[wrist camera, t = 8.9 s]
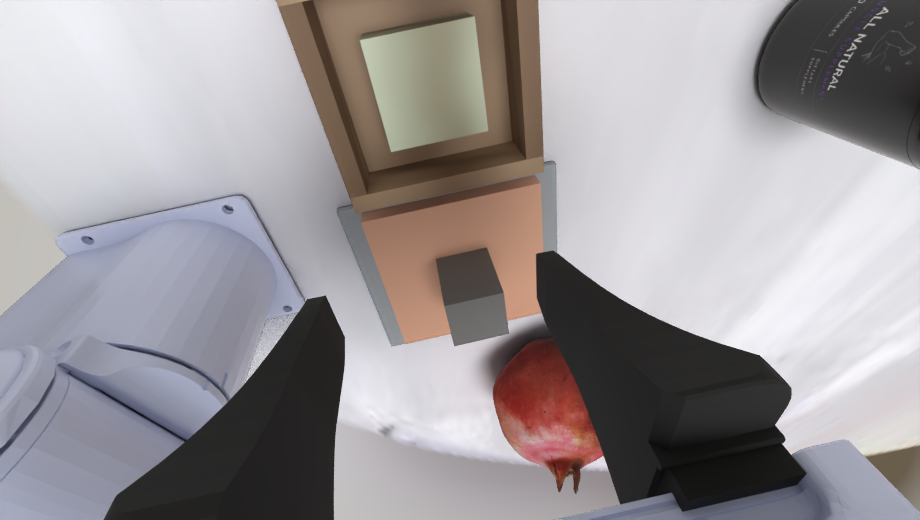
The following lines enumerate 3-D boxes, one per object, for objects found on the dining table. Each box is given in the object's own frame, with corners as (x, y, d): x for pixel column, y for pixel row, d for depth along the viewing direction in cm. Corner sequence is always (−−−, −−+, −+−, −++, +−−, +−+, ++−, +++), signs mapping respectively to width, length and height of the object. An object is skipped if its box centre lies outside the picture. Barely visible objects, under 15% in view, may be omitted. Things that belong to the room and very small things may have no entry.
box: (358, 185, 21) (355, 213, 18) (285, -23, 15) (267, -23, 13) (525, 149, 21) (543, 172, 18) (511, -69, 15) (535, -77, 13)
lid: (405, 333, 27) (408, 395, 23) (361, 213, 21) (356, 269, 17) (540, 301, 27) (567, 358, 23) (534, 175, 21) (569, 221, 17)
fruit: (605, 310, 29) (687, 435, 21) (580, 388, 35) (638, 510, 27) (485, 322, 28) (525, 460, 20) (480, 401, 34) (509, 533, 26)
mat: (391, 342, 28) (391, 346, 27) (337, 208, 21) (336, 211, 21) (555, 304, 28) (557, 308, 28) (553, 160, 22) (555, 163, 21)
